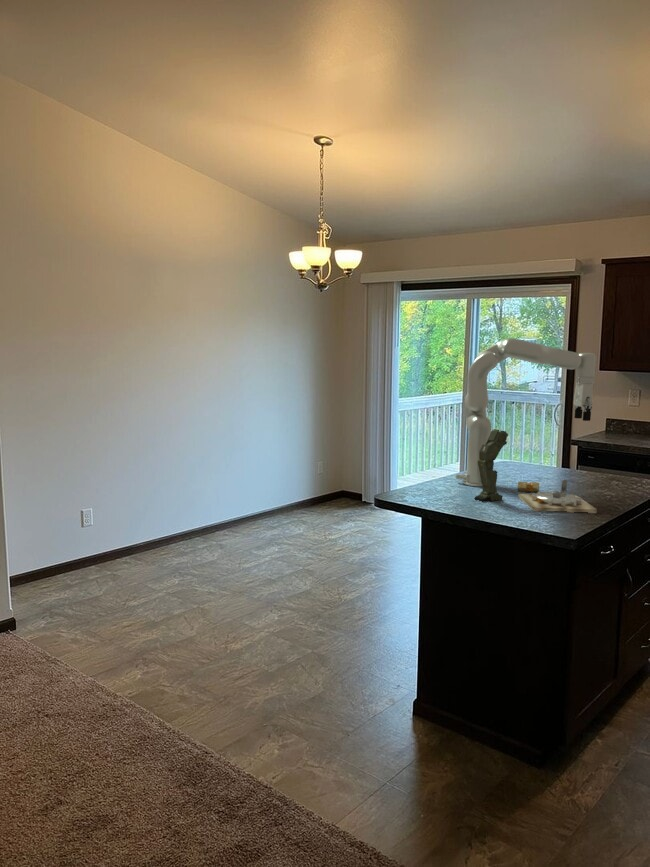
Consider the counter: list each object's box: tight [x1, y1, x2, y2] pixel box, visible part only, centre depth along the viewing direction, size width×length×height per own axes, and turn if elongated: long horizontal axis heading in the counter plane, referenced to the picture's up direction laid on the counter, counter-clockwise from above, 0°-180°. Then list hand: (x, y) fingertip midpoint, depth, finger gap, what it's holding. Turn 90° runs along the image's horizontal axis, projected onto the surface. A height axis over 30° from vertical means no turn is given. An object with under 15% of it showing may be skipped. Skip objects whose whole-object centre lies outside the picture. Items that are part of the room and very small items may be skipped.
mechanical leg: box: [473, 428, 509, 503], centre depth 277 cm, size 14×7×30 cm, turn 118°
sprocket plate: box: [518, 493, 598, 514], centre depth 271 cm, size 24×24×2 cm
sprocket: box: [531, 479, 582, 506], centre depth 272 cm, size 19×21×6 cm
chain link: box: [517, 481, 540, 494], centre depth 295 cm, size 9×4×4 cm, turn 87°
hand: (582, 419), depth 303 cm, fingers open, 9 cm apart
